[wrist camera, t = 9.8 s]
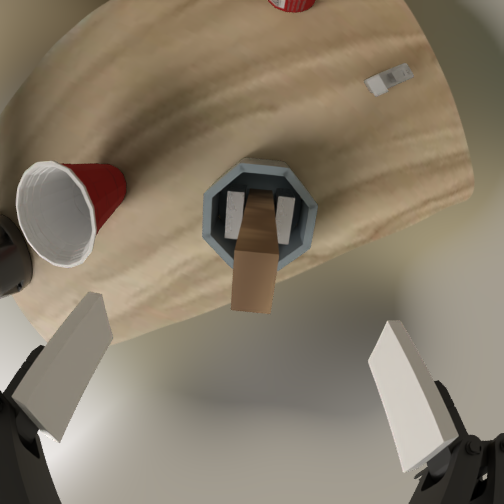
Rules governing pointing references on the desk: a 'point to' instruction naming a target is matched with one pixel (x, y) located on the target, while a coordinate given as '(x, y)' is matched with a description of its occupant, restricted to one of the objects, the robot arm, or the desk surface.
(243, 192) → the clip
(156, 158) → the desk surface
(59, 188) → the plastic cup
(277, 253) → the brown wooden block
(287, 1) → the soda can
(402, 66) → the lighter
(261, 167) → the grey faceted bowl
